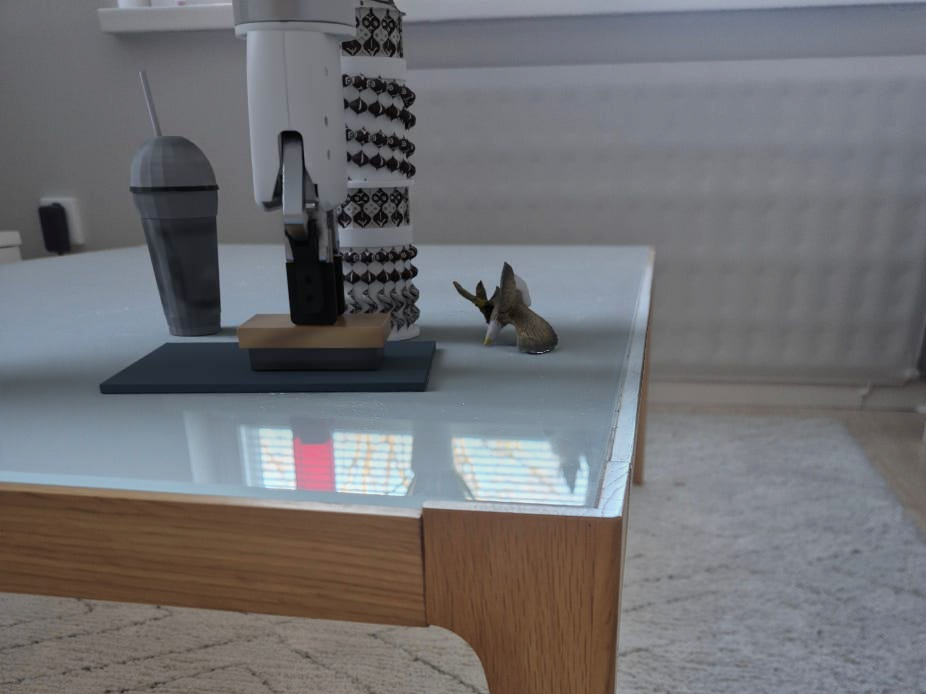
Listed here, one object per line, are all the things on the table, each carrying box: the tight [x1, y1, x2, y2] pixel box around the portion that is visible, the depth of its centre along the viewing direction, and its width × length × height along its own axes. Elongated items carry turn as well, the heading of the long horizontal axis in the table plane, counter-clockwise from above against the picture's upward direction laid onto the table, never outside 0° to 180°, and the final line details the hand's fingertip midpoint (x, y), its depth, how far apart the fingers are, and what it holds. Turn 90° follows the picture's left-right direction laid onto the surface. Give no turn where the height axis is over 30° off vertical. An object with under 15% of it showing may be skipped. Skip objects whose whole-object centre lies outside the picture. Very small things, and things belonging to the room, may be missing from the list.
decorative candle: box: [333, 0, 421, 341], centre depth 76 cm, size 9×9×25 cm
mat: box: [98, 340, 437, 394], centre depth 70 cm, size 22×15×1 cm
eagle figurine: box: [452, 261, 559, 354], centre depth 76 cm, size 8×7×9 cm
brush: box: [236, 228, 391, 370], centre depth 66 cm, size 10×6×9 cm, turn 90°
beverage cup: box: [129, 70, 222, 337], centre depth 80 cm, size 7×7×20 cm
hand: (319, 316), depth 67 cm, fingers closed on brush, 3 cm apart
